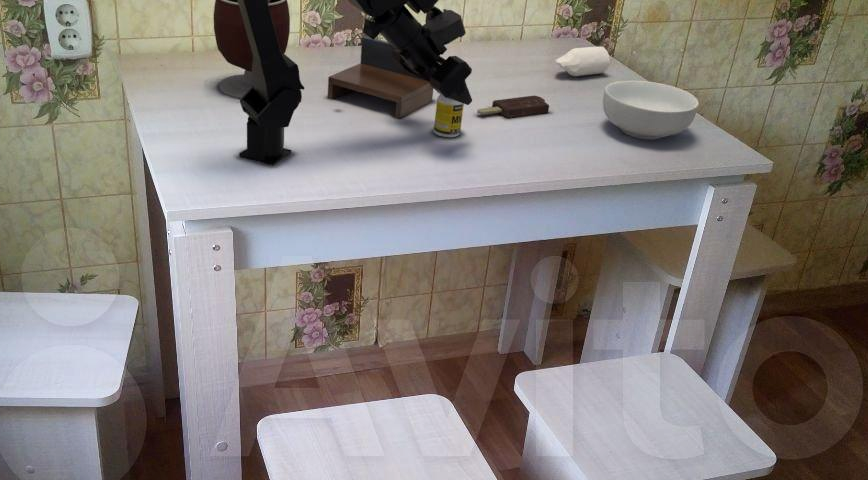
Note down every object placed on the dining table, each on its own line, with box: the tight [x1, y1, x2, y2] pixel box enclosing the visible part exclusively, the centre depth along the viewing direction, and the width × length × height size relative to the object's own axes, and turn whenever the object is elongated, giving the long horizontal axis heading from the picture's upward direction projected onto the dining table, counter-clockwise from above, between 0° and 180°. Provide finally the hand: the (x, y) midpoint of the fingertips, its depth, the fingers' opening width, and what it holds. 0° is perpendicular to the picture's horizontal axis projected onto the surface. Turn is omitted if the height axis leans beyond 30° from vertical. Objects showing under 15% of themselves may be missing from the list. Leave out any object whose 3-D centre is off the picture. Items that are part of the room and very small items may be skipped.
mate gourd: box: [213, 0, 291, 99], centre depth 182 cm, size 16×14×20 cm
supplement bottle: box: [433, 94, 465, 138], centre depth 172 cm, size 5×5×8 cm
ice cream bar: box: [476, 95, 550, 119], centre depth 185 cm, size 5×2×15 cm
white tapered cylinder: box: [555, 46, 611, 77], centre depth 204 cm, size 6×12×6 cm, turn 119°
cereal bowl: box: [602, 79, 699, 141], centre depth 179 cm, size 17×17×7 cm
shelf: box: [327, 35, 434, 119], centre depth 184 cm, size 12×16×9 cm
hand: (456, 93), depth 171 cm, fingers open, 9 cm apart
